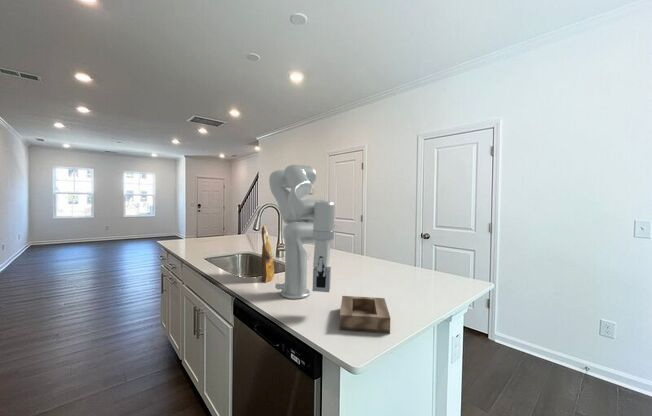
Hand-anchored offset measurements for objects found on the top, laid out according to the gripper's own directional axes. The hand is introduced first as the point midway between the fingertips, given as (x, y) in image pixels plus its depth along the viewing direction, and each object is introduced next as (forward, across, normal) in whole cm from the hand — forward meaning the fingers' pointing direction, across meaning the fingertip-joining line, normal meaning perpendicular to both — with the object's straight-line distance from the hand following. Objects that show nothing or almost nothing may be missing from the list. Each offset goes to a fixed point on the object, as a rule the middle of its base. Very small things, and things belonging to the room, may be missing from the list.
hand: (321, 284), depth 102 cm
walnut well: (+11, +3, +16) cm, 19 cm away
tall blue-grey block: (+2, 0, 0) cm, 2 cm away
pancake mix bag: (+13, -41, -33) cm, 55 cm away
